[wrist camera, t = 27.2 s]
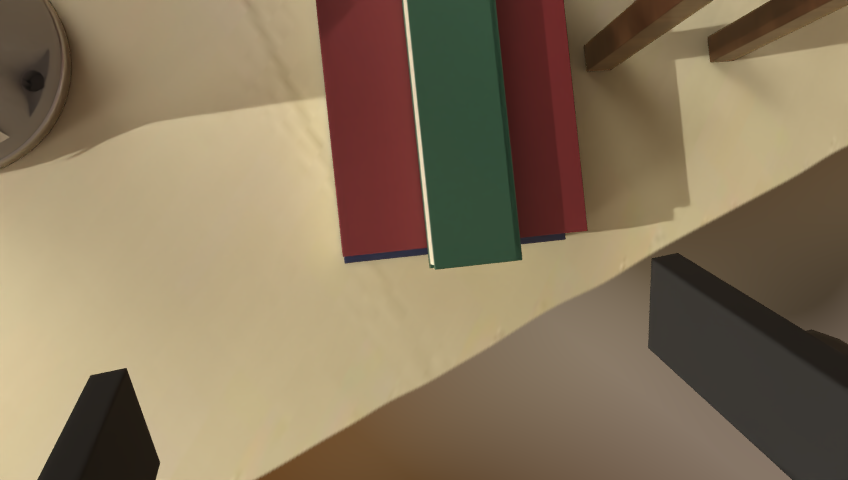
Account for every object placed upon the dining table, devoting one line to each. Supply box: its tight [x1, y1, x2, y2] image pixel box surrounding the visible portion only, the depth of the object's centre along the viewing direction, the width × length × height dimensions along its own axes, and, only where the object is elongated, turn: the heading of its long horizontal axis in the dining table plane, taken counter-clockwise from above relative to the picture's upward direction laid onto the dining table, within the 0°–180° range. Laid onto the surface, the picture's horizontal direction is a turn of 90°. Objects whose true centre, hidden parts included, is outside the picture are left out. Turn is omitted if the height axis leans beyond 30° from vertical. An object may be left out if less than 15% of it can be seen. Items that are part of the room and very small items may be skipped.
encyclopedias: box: [316, 0, 587, 263], centre depth 40 cm, size 22×15×8 cm, turn 6°
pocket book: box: [402, 0, 522, 270], centre depth 35 cm, size 21×5×2 cm, turn 6°
